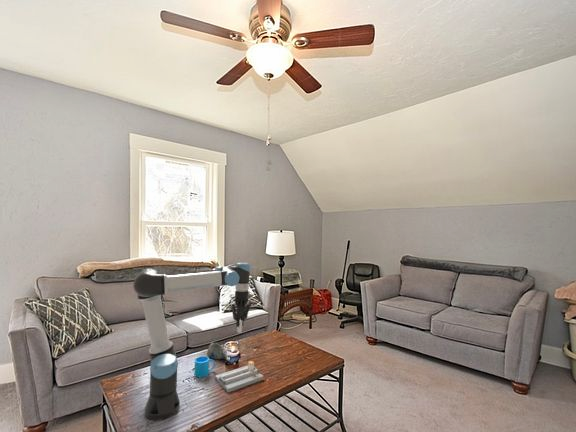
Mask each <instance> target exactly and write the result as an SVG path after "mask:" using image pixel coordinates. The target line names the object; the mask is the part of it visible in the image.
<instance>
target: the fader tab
mask: <svg viewBox="0 0 576 432" xmlns="http://www.w3.org/2000/svg"><path fill="white" fill-rule="evenodd" d="M247 365H248V372H250V371H253V370H254V367H255V362H254V361H253V360H249V361H247Z"/></svg>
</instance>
